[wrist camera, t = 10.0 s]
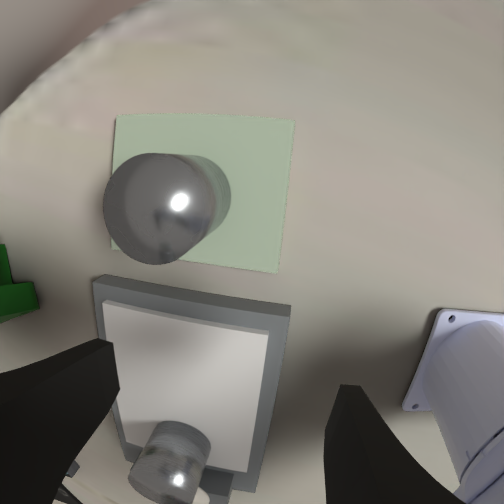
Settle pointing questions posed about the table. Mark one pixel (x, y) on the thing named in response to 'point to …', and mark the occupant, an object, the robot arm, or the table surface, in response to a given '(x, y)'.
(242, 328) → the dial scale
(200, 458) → the cylinder
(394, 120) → the table surface
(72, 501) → the cell phone
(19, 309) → the clamp
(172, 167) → the cylinder
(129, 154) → the mat
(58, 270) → the table surface
